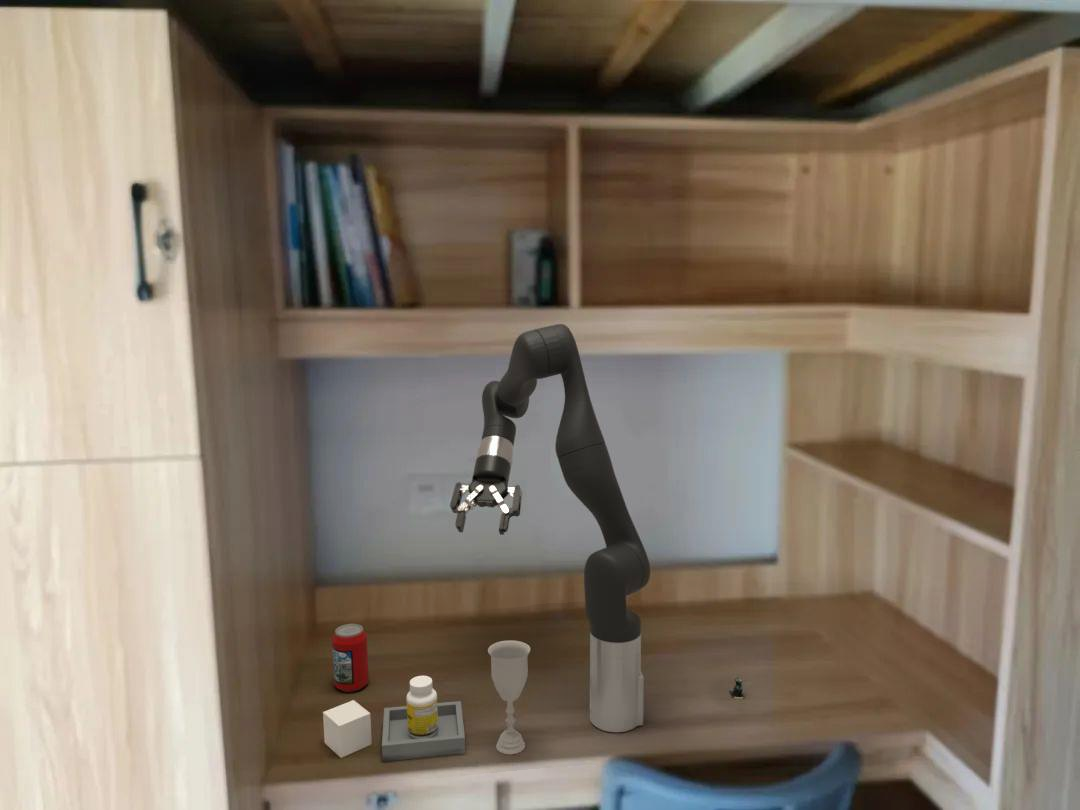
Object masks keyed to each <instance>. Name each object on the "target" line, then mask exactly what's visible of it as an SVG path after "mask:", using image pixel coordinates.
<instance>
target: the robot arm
mask: <svg viewBox="0 0 1080 810" xmlns="http://www.w3.org/2000/svg"><path fill="white" fill-rule="evenodd" d="M581 360H582V359H581V357H580V353H579V348H578V346H577V343H576V340H575V337H574V335H573V333H572V331H571V330H570V327H568V326H567V325H566V324H565V323H557V324H553V325H548V326H543V327H540V328H534V329H532V330H531V329H530V330H528V331H524V332H522V333H521V334H519V336H518V337H516V339H515V341H514V344H513V345H512V350H511V353H510V358H509V363H508V369H507V370H506V372H505V373H504V374H503V376H502V377H501V379H500V381H499V380H492V381H490V382H488V383H487V384H486V385H485V386H484V387H483V390H482V394H481V404H482V412H483V431H482V434H481V439H480V444H479V447H478V449H477V454H476V459H475V463H474V467H473V473H472V479H471V483H469V484H468V485H465V484H462V483H461V482H459V481H458V482H456V483H455V486H454V490H453V493H452V496H451V500H450V504H449V507H450V509H451V511H452V513H453V514H456V518H455V524H454V525H455V527H456V529H457V530H458V532H459V533H463V532H464V530H465V524H466V520H467V515H468V514H469V512H470V511H473V510H475V509H476V508H477V507H479V508H485V507H488V508H495V507H496V506H497V507H498V508H499V510H500V512H501V516H500V519H499V526H498V533H499V535H501V536H502V535H503V536H504V535H505V533H507V531H509V525H510V520H511V518H512V517H519V516H521V509H522V496H523V492H522V488H521V486H520V484H519V485H518V484H516V485H514V486H513V487H509V480H510V476H511V468H512V465H513V458H514V457H513V456H514V444H515V440H516V439H515V438H516V434H517V426H516V424H515V422H514V421H513V420H511V419H510V418H512V419H520V418H522V417H524V416H525V415H526V413H527V411H528V408H529V404H530V397H531V396H532V394H533V393H534V391H535V390H536V388H537V385H538V380H542V379H545V378H549V377H555V376H557V375H561V379H562V384H563V389H564V404H563V409H562V415H561V418H560V422H559V425H558V429H557V433H556V439H555V447H554V449H555V453H556V457H557V461H558V464H559V466H560V469H561V472H562V476H563V478H564V481H565V484H566V485H567V487H568V488H569V490H570V491H571V492H572V493H573V495H575V497H576V499H578V500H579V501H580V502H581V503H582V505H584V506H585V508H587V510H588V511H589V512H590V513H591V514H592V516H593V517H594V519H595V521H596V522H597V524H598V526H599V528H600V530H601V534H602V537H603V540H604V543H605V547H603V548H602V549H598V550H596V551H594V552H593V553H591V554H590V555H589V556H588V558H587V559H586V562H585V565H584V572H583V583H584V584H583V586H584V589H583V590H584V605H585V614H586V617H587V620H588V623H589V720H590V722H591V724H592V725H594V727H595V728H597V729H599V730H602V731H604V732H610V733H625V732H629V731H631V730H633V729H635V728H637V727H638V726H639V727H640V726H644V698H645V696H644V695H645V694H644V691H645V690H644V689H645V687H644V685H645V683H644V681H645V680H644V675H643V673H642V671H641V665H642V664H641V661H642V659H641V658H642V656H641V655H642V654H641V653H642V652H641V649H642V643H641V642H642V621H641V618H640V616H639V615H638V614H637V613H636V612H635V611H632V610H630V609H627V596H630V595H631V594H633V593H637V592H638V591H640V590H641V589H643V588H645V587H646V585H648V583H649V581H650V578H651V577H650V576H651V565H650V561H649V557H648V554H647V552H646V549H645V547H644V544H643V542H642V540H641V538H640V536H639V533H638V531H637V528H636V526H635V523H634V521H633V520H632V517H631V515H630V513H629V510H628V507H627V505H626V502H625V499H624V496H623V493H622V491H621V488H620V485H619V482H618V479H617V477H616V473H615V469H614V467H613V462H612V460H611V456H610V453H609V451H608V447H607V444H606V441H605V438H604V436H603V434H602V433H603V432H602V430H601V427H600V425H599V422H598V418H597V416H596V413H595V410H594V407H593V404H592V400H591V397H590V392H589V389H588V385H587V381H586V380H587V379H586V377H585V372H584V369H583V365H582V361H581ZM467 492H468V493H469V495H468V496H467V497H465V495H466V493H467ZM509 494H510V496H511V498H512V504H511V505H512V507H508V506H507V504H506V503H505V501H504V499H505V498H506V497H507V496H509ZM463 497H465V498H464V501H463V502H461V501H462V500H463V499H462V498H463Z"/></svg>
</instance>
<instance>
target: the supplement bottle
mask: <svg viewBox="0 0 1080 810" xmlns="http://www.w3.org/2000/svg"><path fill="white" fill-rule="evenodd" d="M433 684H434V683H433V679H432V677H430V676H427V675H418V676H414V677H413V678H411V679H410V680H409V691H408V692H407V694H406V699H405V700H406V701H405V702H406V706H407V723H408V733H409V735H410V736H411V737H412V738H414V739H422V738H431V737H433V736H434V735H435V734H436V733H437V732H438V709H437V703H438V693H437V691H436V690H435V689H434V688H433V686H434V685H433Z"/></svg>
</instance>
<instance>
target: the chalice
mask: <svg viewBox="0 0 1080 810" xmlns="http://www.w3.org/2000/svg"><path fill="white" fill-rule="evenodd" d="M530 646H531V645H528V644H527V643H525V642H523V641H519V640H511V639H510V640H501V641H497V642H495V643H493V644H491V645H490V646H489V647H488V649H487V652H488V654H489V655H490V662H491V663H490V665H491V666H490V669H491V670H490V671H491V673H490V674H491V680H492V681H493V684H494V687H495V689H496V691H497V693H498V694H499V697H501V699H502V700H503V701H504V702H506V703H507V704H506V705H507V706H506V708H505V712H506V715H507V716H506V718H505V720H504V722H505V723H506V724H507V728H506V729H505V730H503V731H502V733H500V736H499V738H498V740H497V743H496V745H495V746H496V750H497V751H498V752H500V753H501V754H505V755H516V754H519V753H521V752H522V751H524V749H526V748H525V747H526V743H525V741H524V739H523V737H522V734H521V733H520V732H519V731H518V730H517V729H514V723H515V722H516V718H514V713H515V711H516V710H515V708H514V705H513V704H514V701H517V700H518V699H519V698H520V695H521V694H522V691H523V689H524V687H525V685H526V681H527V678H528V676H529V672H528V661H529V660H528V658H529V657H528V656H529V654H530V652H531V647H530Z"/></svg>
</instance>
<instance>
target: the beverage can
mask: <svg viewBox="0 0 1080 810" xmlns="http://www.w3.org/2000/svg"><path fill="white" fill-rule="evenodd" d="M331 639H332V640H331V643H332V647H331V648H332V663H333V665H332V666H333V679H334V687H336V688H337V689H338V690H341V691H343V692H346V693H348V692H350V693H351V692H357V691H359V690H361V689H363V688H364V687H365V686H367V684H368V683H369V679H370V677H369V655H368V653H369V651H368V650H369V649H368V635H367V633H366V632H365V630H364V628H363V626H362V625H361V624H357V623H348V624H343V625H340V626H338V627H337V628H335V632H334V634H333V636H332V638H331Z"/></svg>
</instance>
